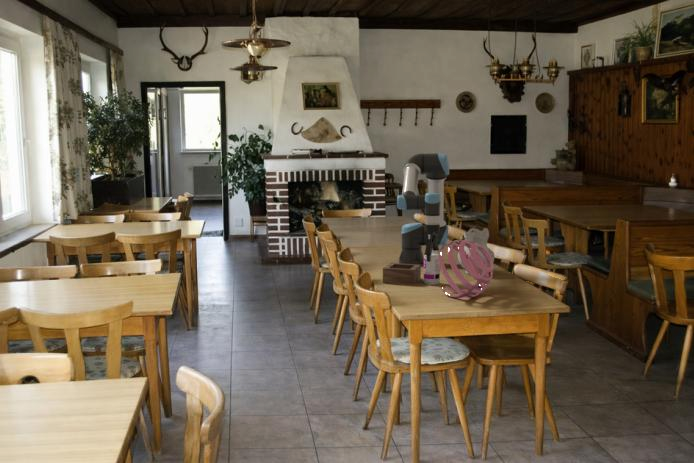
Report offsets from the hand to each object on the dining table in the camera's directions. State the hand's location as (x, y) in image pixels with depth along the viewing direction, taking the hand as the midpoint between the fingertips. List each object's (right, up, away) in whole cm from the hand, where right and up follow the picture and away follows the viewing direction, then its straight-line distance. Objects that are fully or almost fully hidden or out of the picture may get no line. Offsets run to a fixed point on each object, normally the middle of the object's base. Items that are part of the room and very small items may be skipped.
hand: (431, 265), depth 385 cm
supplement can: (0, -9, +2) cm, 10 cm away
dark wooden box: (-14, -8, +8) cm, 19 cm away
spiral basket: (+13, -14, -28) cm, 33 cm away
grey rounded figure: (+27, -6, +27) cm, 38 cm away
